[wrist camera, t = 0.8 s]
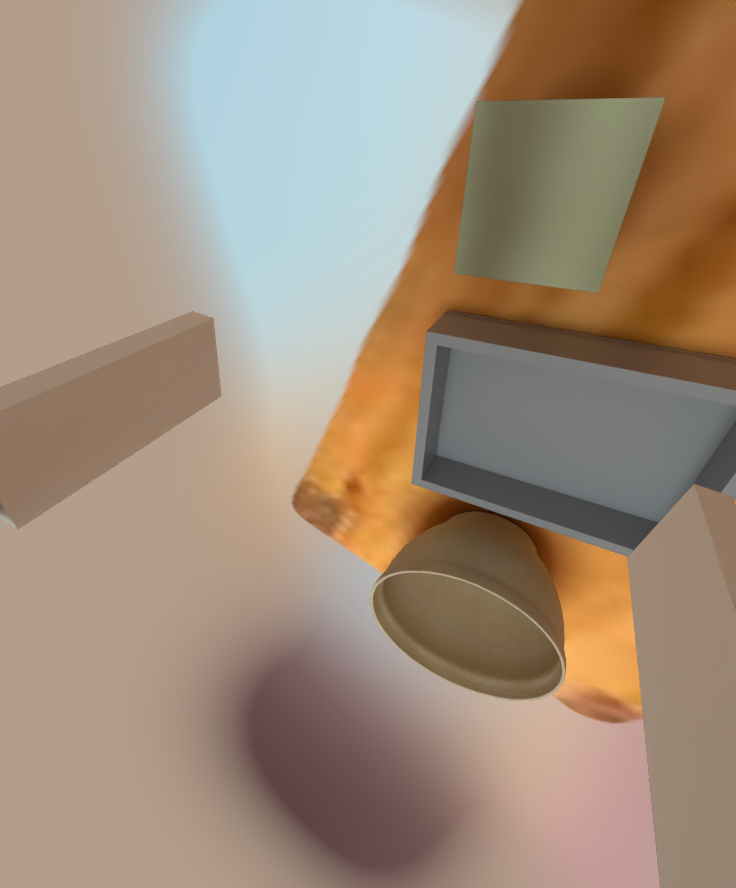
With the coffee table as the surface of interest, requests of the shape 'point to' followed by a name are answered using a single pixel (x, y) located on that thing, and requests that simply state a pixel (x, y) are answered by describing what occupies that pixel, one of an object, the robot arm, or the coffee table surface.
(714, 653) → the robot arm
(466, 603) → the planter bowl
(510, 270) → the olive block
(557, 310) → the coffee table surface
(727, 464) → the bin
